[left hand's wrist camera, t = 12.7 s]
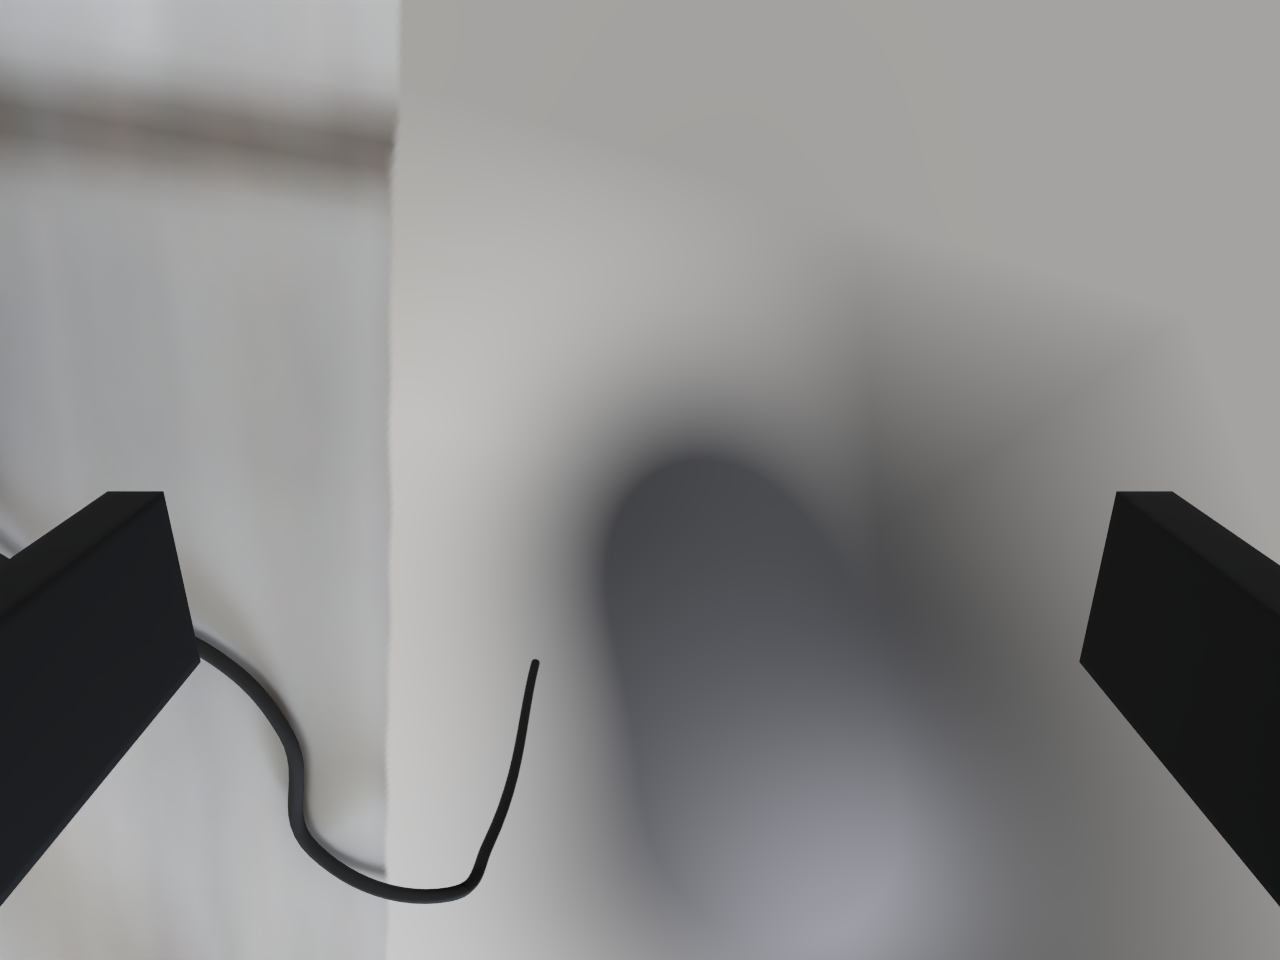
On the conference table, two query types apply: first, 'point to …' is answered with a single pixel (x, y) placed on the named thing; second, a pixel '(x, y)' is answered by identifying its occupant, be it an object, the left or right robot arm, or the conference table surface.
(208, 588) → the conference table surface
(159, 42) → the conference table surface
